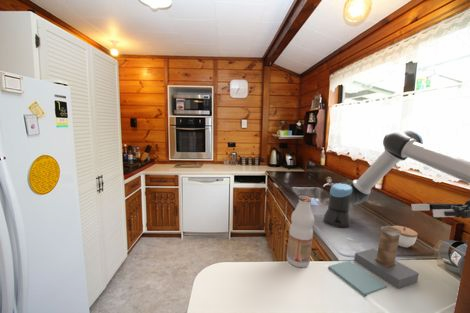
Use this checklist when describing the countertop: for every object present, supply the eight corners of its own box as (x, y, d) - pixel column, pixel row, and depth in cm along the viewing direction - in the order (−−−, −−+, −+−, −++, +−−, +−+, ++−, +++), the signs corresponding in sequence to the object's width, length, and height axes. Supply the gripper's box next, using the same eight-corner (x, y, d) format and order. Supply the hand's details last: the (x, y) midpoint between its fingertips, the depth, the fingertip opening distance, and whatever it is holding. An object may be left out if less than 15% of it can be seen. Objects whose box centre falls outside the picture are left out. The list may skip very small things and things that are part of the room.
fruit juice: (283, 262, 94) (290, 197, 90) (289, 252, 102) (296, 192, 98) (306, 271, 89) (315, 203, 85) (311, 259, 97) (319, 196, 93)
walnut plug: (374, 268, 93) (381, 226, 91) (381, 265, 95) (388, 225, 93) (385, 275, 89) (393, 232, 87) (393, 272, 91) (400, 230, 89)
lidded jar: (419, 251, 110) (423, 233, 109) (395, 247, 112) (398, 230, 111) (407, 240, 121) (410, 224, 119) (385, 237, 123) (388, 221, 121)
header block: (354, 261, 98) (355, 252, 97) (372, 256, 103) (373, 248, 102) (397, 290, 82) (399, 280, 81) (416, 282, 87) (418, 273, 86)
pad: (328, 268, 92) (328, 266, 92) (349, 262, 97) (349, 260, 97) (364, 296, 77) (364, 293, 77) (386, 288, 82) (387, 285, 82)
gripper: (518, 226, 76) (445, 227, 80) (458, 212, 100) (405, 213, 104) (515, 204, 76) (443, 205, 80) (456, 195, 101) (403, 197, 105)
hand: (421, 210), depth 92 cm, fingers open, 13 cm apart
